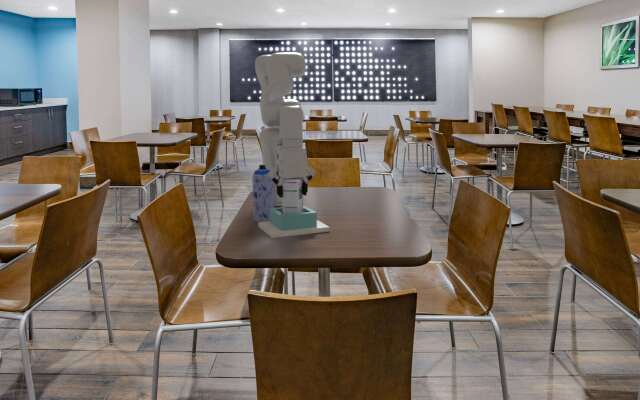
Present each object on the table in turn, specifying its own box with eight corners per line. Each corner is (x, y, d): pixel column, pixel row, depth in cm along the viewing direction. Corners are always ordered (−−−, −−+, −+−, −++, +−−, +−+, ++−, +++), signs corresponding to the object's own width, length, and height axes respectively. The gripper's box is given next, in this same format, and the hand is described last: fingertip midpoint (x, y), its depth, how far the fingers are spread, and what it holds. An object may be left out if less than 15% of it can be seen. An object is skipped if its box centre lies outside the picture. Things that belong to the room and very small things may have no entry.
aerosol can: (250, 217, 200) (248, 164, 196) (270, 215, 203) (269, 163, 199) (256, 222, 193) (254, 167, 189) (277, 220, 196) (276, 165, 192)
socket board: (258, 226, 187) (257, 208, 186) (311, 220, 194) (311, 203, 193) (272, 238, 173) (271, 218, 171) (329, 231, 180) (329, 212, 179)
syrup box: (299, 222, 180) (298, 179, 177) (282, 221, 181) (281, 179, 178) (303, 218, 185) (302, 176, 182) (286, 217, 186) (286, 176, 183)
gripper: (269, 146, 171) (270, 200, 175) (320, 143, 177) (320, 195, 181) (262, 143, 178) (264, 196, 182) (311, 141, 184) (312, 191, 188)
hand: (292, 195), depth 181 cm, fingers closed on syrup box, 7 cm apart
